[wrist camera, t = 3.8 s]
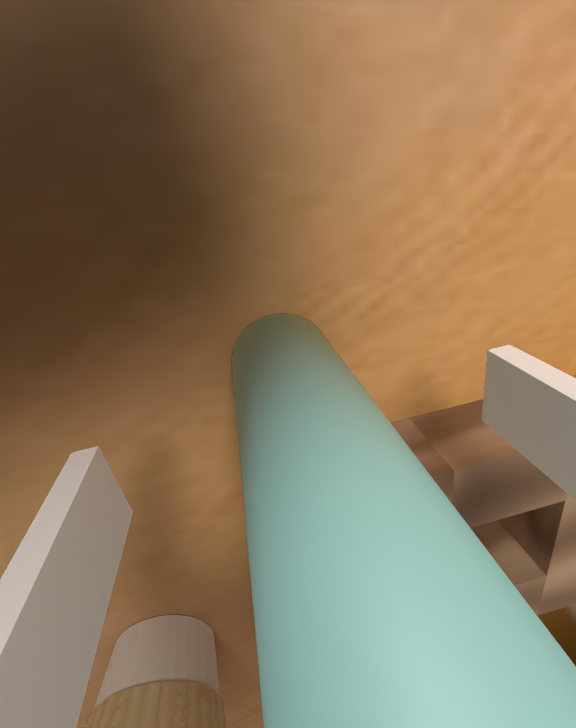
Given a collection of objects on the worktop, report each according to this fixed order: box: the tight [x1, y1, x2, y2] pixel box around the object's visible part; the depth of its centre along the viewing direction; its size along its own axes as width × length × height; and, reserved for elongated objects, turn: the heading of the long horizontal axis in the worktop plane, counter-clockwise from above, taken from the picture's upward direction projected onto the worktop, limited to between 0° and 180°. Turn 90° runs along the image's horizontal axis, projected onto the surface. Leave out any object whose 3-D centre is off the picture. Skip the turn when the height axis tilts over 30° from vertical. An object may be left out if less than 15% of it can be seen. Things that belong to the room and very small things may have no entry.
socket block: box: [391, 376, 576, 616], centre depth 20 cm, size 14×14×4 cm
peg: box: [232, 313, 576, 728], centre depth 9 cm, size 4×4×16 cm
